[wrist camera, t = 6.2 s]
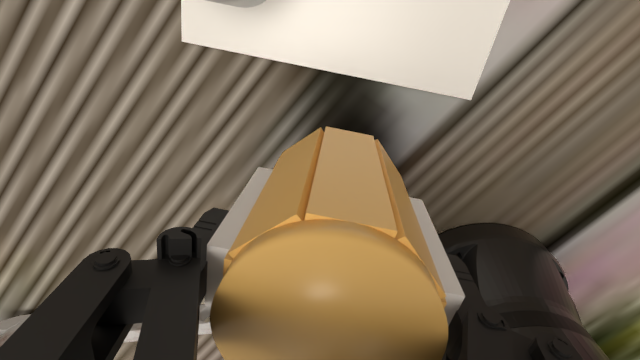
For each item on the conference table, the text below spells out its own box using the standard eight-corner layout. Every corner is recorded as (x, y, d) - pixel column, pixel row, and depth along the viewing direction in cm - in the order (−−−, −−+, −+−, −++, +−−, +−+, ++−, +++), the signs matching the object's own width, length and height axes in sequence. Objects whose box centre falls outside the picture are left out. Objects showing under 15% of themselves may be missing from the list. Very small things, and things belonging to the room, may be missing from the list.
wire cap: (379, 247, 20) (406, 425, 11) (270, 225, 20) (206, 386, 11) (413, 144, 17) (489, 271, 8) (285, 118, 17) (214, 215, 8)
